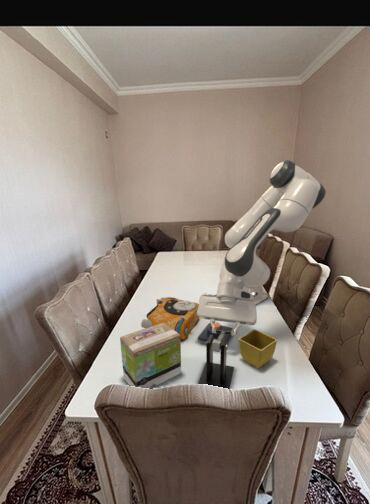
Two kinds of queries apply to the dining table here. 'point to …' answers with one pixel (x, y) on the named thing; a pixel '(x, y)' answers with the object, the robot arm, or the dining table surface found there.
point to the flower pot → (257, 347)
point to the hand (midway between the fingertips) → (223, 334)
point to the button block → (208, 332)
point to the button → (216, 325)
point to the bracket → (216, 367)
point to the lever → (219, 340)
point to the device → (173, 315)
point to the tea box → (151, 356)
